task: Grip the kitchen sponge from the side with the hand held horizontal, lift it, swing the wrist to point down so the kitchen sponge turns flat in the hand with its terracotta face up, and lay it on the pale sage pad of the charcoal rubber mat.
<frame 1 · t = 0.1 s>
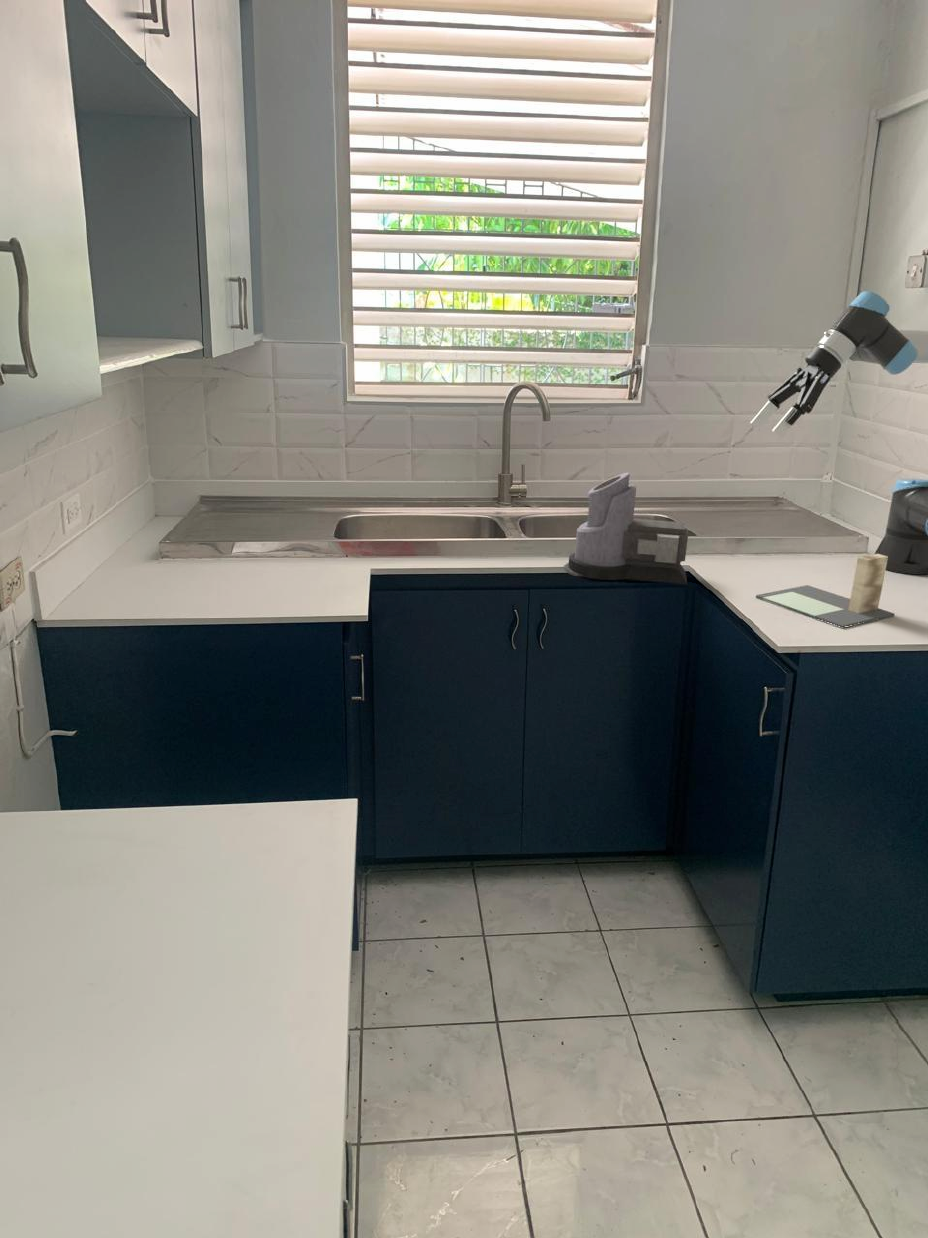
hand: (765, 430, 216), 36 cm above the countertop, tool tilted 35°, fingers open, 13 cm apart
mat: (823, 606, 209), on the countertop
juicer: (624, 573, 229), on the countertop
kitchen sponge: (868, 583, 204), point 7 cm above the countertop, touching mat
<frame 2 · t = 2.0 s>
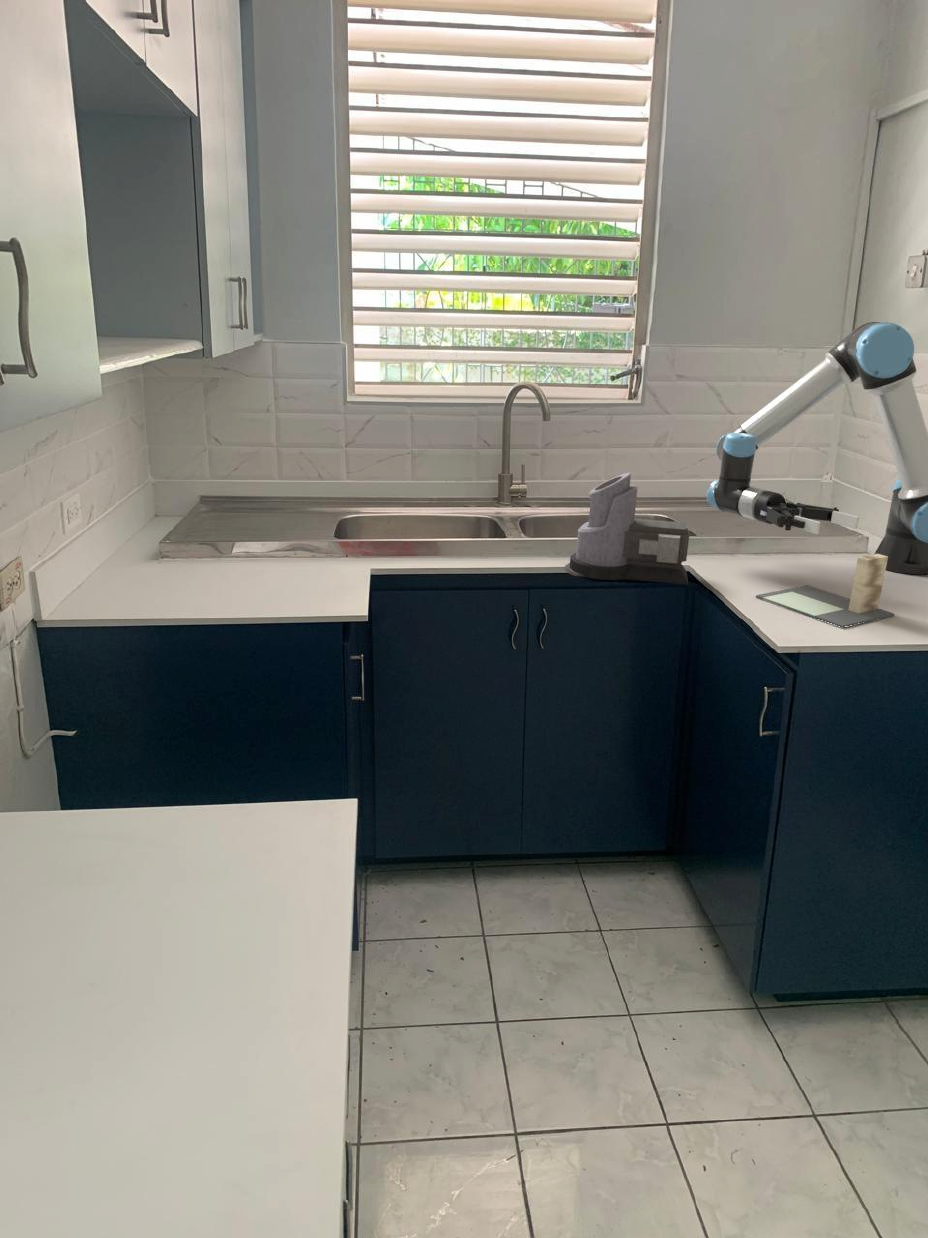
hand: (838, 525, 208), 17 cm above the countertop, tool horizontal, fingers open, 13 cm apart
nothing on the countertop moved.
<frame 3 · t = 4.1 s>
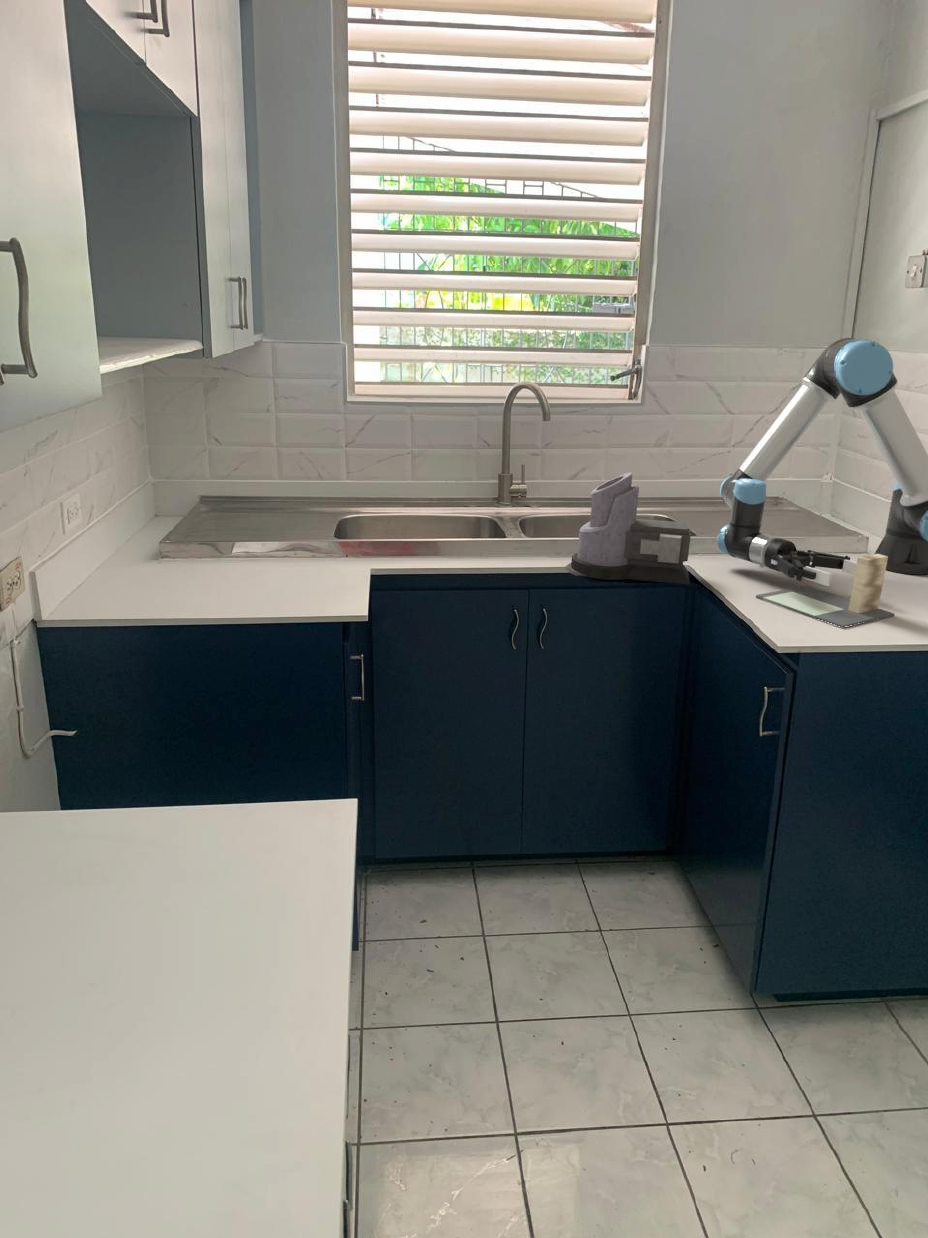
hand: (849, 576, 207), 7 cm above the countertop, tool horizontal, fingers open, 13 cm apart
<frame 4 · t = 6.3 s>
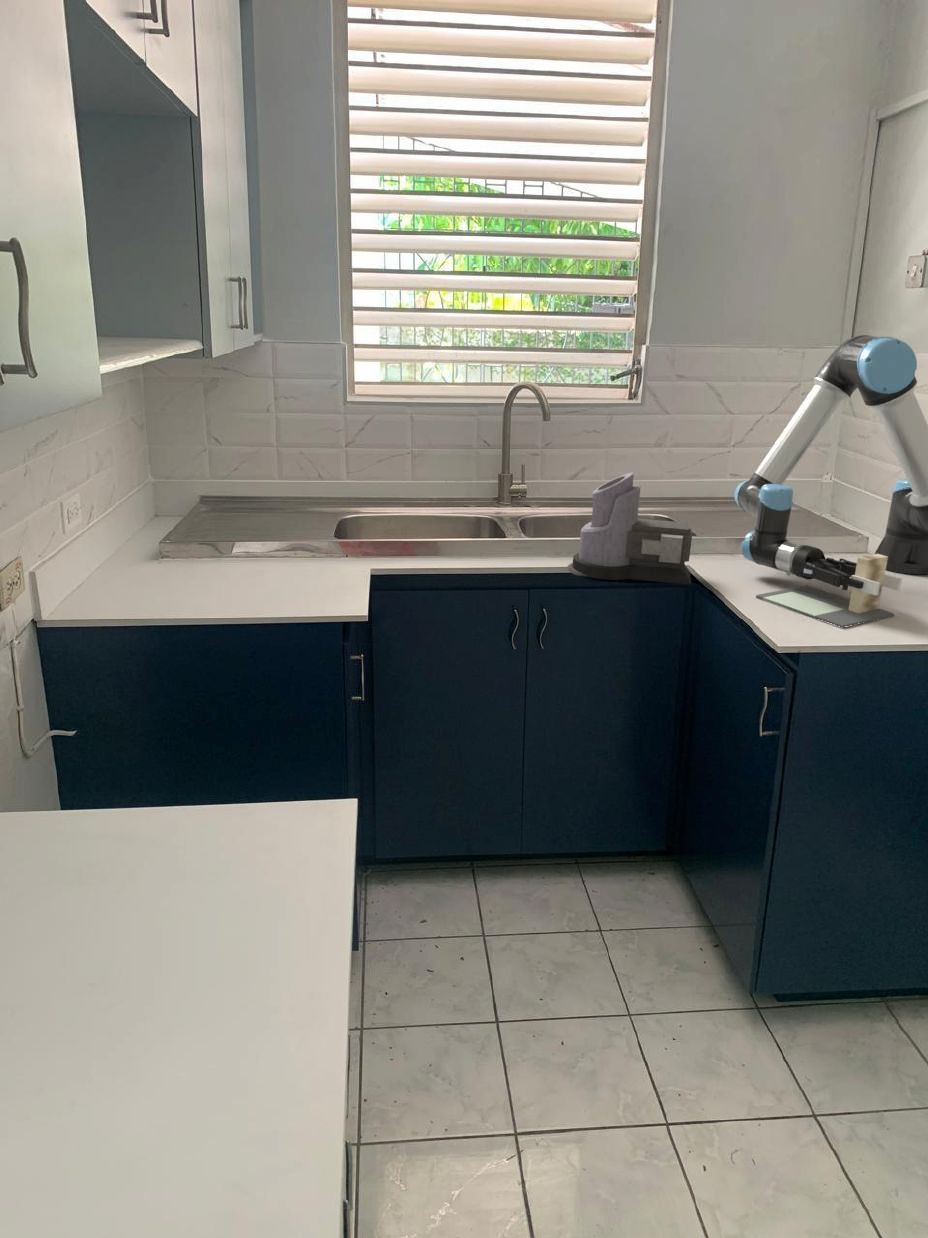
hand: (888, 586, 200), 7 cm above the countertop, tool horizontal, fingers closed on kitchen sponge, 7 cm apart
kitchen sponge: (868, 583, 204), point 7 cm above the countertop, touching gripper, mat
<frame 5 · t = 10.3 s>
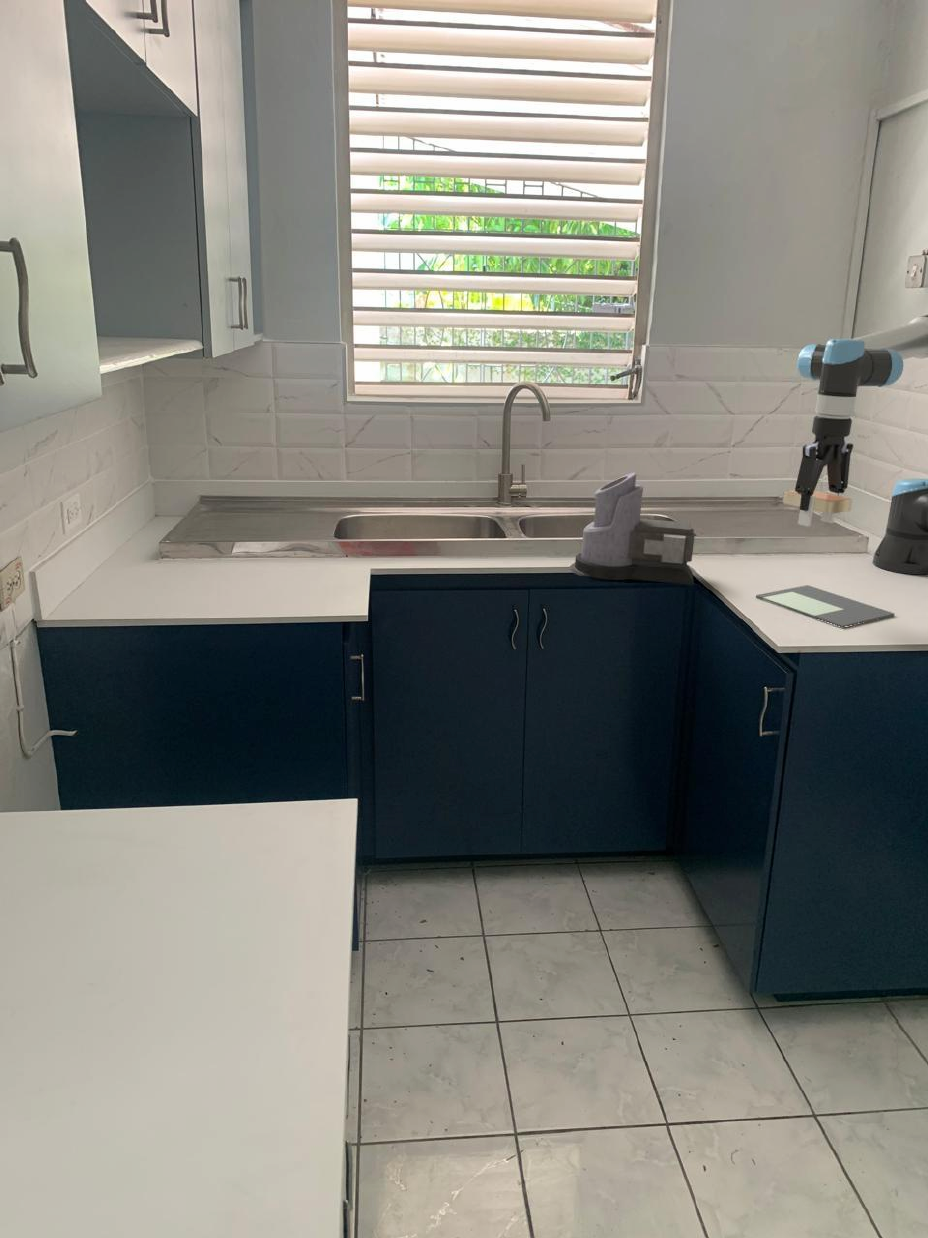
hand: (815, 523, 202), 19 cm above the countertop, tool pointing down, fingers closed on kitchen sponge, 7 cm apart
kitchen sponge: (816, 501, 201), point 24 cm above the countertop, tilted 90°, touching gripper
when the fingers open (3 cm above the countertop, at t = 12.9 s): kitchen sponge drops 5 cm, resting on mat.
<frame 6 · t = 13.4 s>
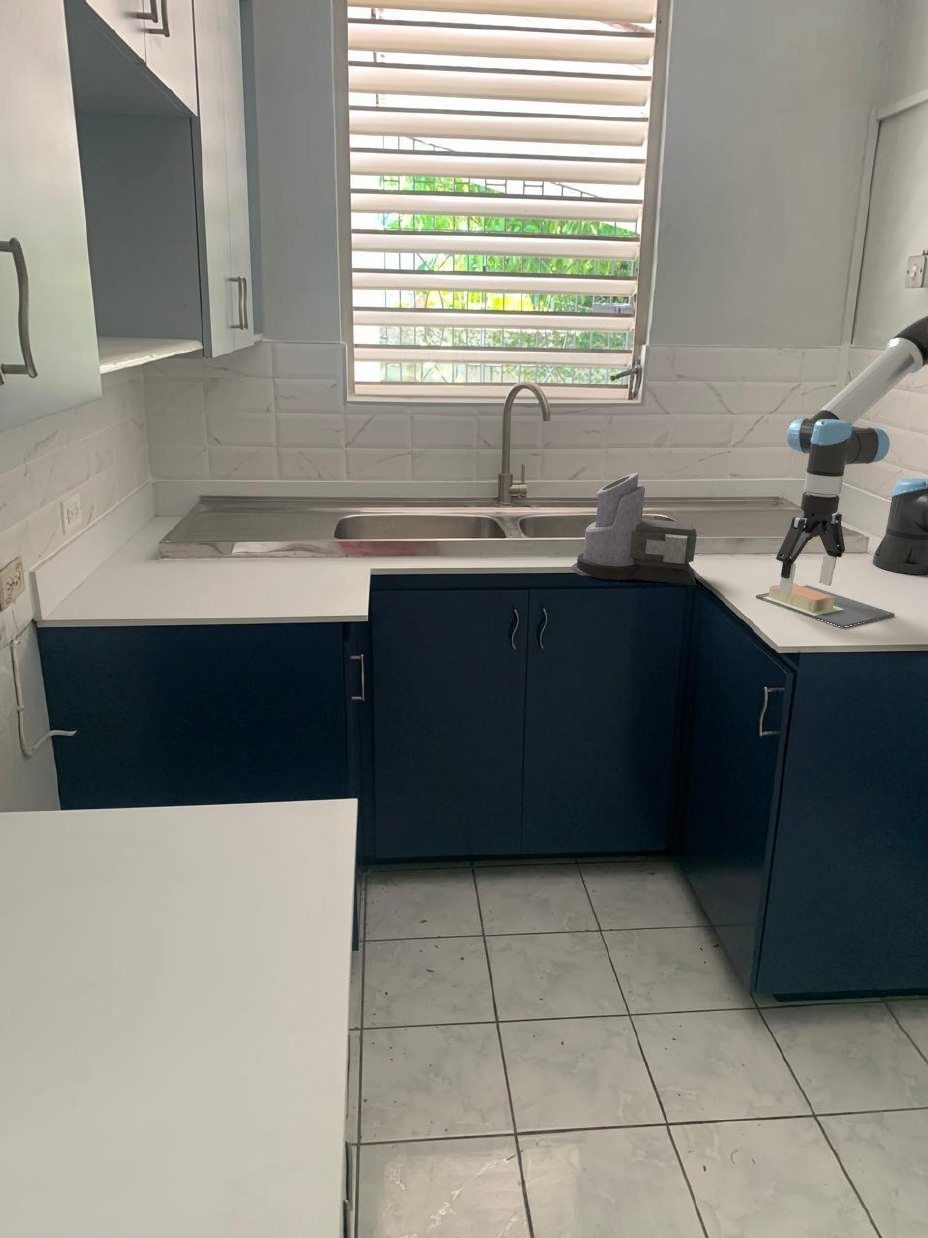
hand: (805, 588, 207), 4 cm above the countertop, tool pointing down, fingers open, 13 cm apart
kitchen sponge: (801, 597, 208), point 2 cm above the countertop, tilted 90°, touching mat
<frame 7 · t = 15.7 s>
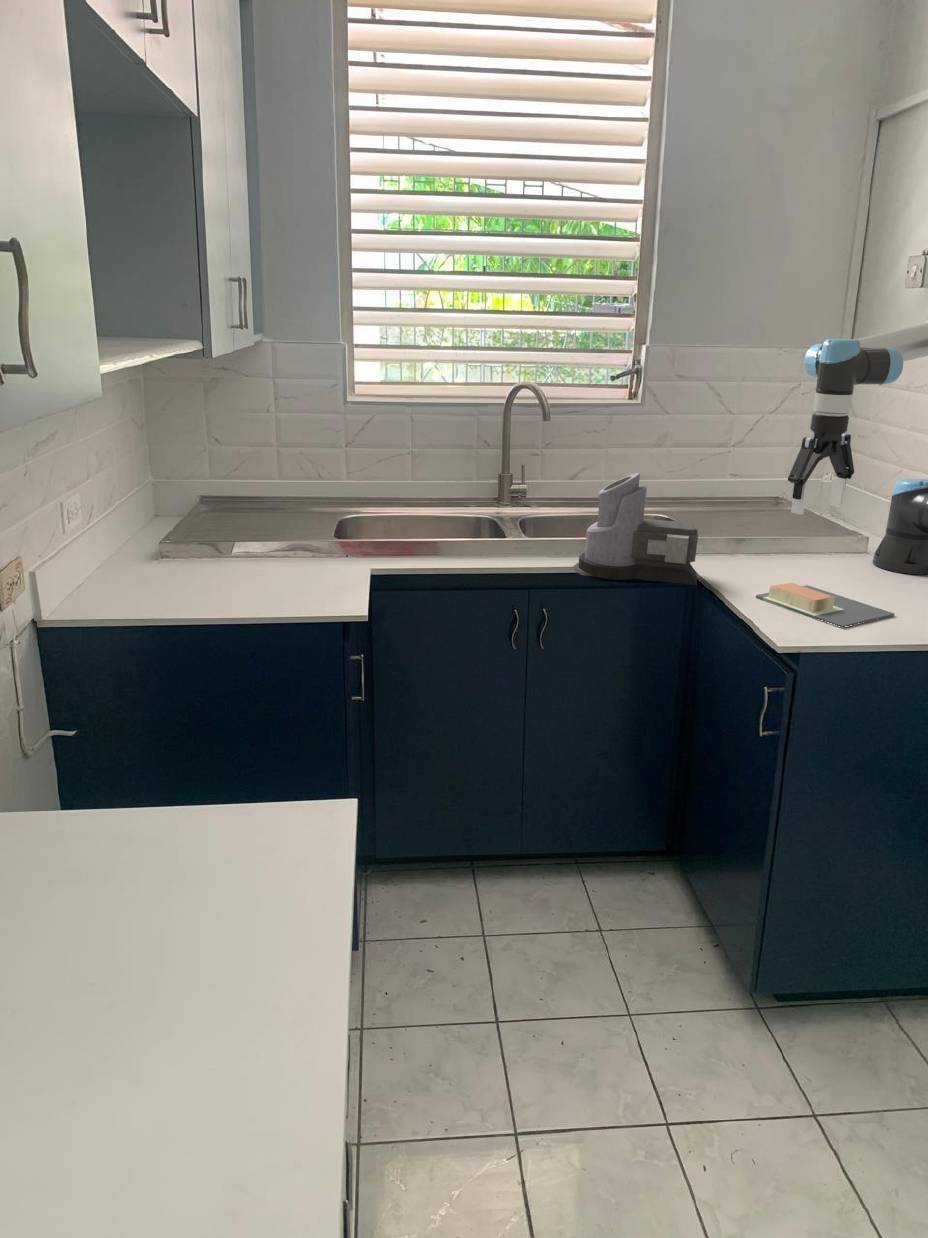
hand: (816, 510, 209), 20 cm above the countertop, tool pointing down, fingers open, 13 cm apart
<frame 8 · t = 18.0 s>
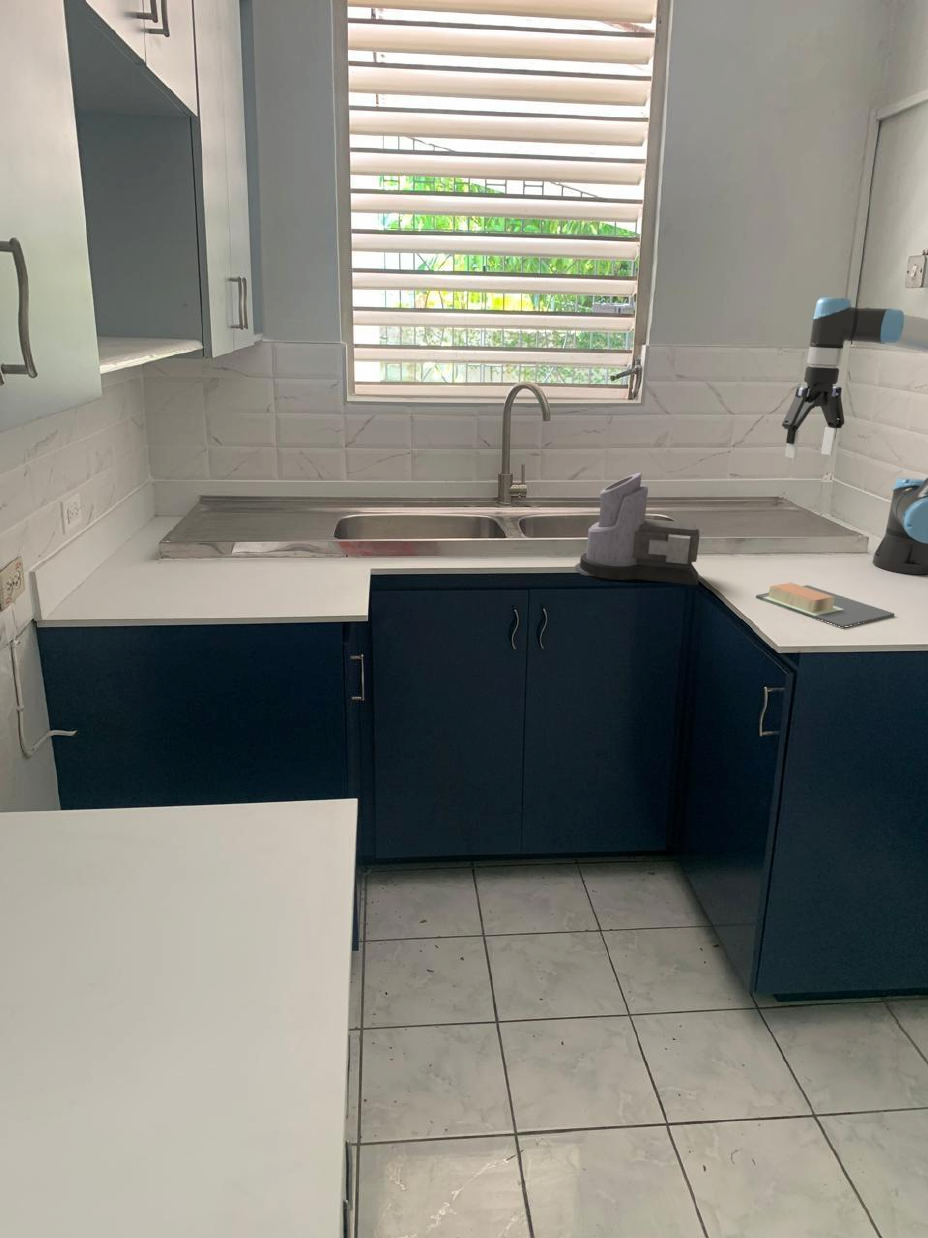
hand: (808, 455, 228), 29 cm above the countertop, tool pointing down, fingers open, 13 cm apart
at the end: kitchen sponge tilted 90°; kitchen sponge inside the target area on the mat (0.6 cm from its centre), point 1.9 cm above the mat's base; the gripper is holding nothing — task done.
